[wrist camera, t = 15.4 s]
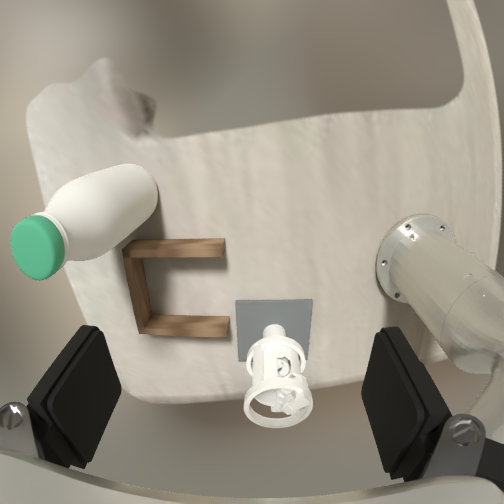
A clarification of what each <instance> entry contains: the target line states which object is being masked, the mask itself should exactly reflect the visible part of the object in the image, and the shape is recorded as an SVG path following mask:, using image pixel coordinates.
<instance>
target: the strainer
mask: <svg viewBox="0 0 504 504" xmlns="http://www.w3.org/2000/svg"><path fill="white" fill-rule="evenodd" d="M297 352H298V353H297ZM298 354H299V355H300V357H301V358H300V362H299V357H298ZM252 357H253V365H252V363H251V359H252ZM288 360H290V362H291V367H290V368H289V361H288ZM305 363H306V361H305V355H304V351H303V348H302V347H301V346H300V344H299V343H298V342H296V341H295V340H293V339H291V338H288V337H286V333H285V329H284V328H283V327H282V326H280V325H277V324H272V325H269V326H267V327H266V328H265V329H264V331H263V339H261V340H259V341H257V342H256V343H254V344H253V345H252V346H251V348H250V349H249V351H248V354H247V370H248V372H249V374H250V375H251V376H252V387H251V388H250V389H249V390H248V391H247V393H246V395H245V398H244V412H245V414H246V416H247V417H248V418H249V419H250V420H251V421H252V422H254V423H256V424H257V425H260V426H263V427H268V428H284V427H290V426H293V425H295V424H298V423H300V422H301V421H303V420H304V419H306V418H307V417H308V415H309V414H310V413H311V411H312V408H313V400H312V395H311V392H310V390H309V388H308V382H307V379H306V378H305V377H304V376H303V375H301V373H302V372H303V370H304V368H305ZM253 398H255V399H256V400H257V401H258V402H260V403H262V404H264V405H268V406H271V412H284V413H286V414H287V415H289V414H291V416H289V417H285V418H267V417H263V416H261V415H259V414H257V413H256V412H254V411H253V409H252V408H251V407H250V402H251V400H252V399H253ZM303 407H305V408H304V409H302V410H301V408H303Z"/></svg>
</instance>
